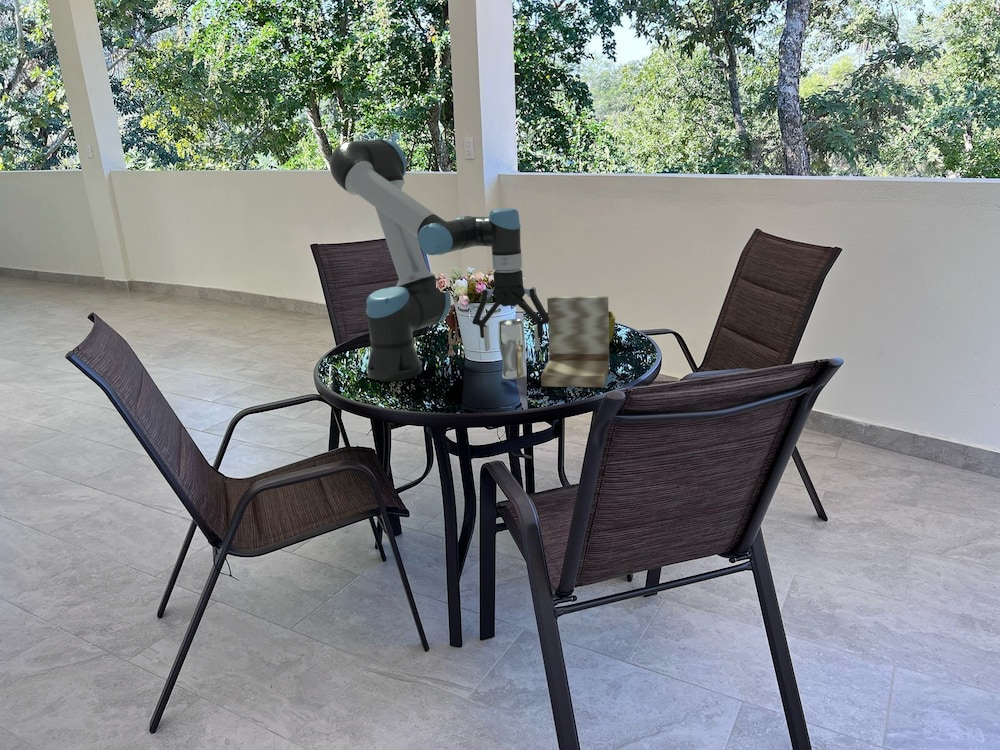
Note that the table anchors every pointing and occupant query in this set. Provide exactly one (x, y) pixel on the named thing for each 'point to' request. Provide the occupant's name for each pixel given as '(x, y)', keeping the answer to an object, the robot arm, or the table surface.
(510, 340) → the beer glass
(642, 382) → the table surface
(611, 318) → the flower pot
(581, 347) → the beige brown l-shaped block
